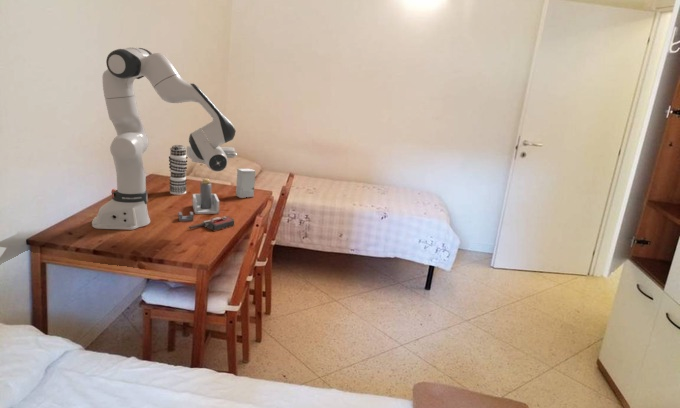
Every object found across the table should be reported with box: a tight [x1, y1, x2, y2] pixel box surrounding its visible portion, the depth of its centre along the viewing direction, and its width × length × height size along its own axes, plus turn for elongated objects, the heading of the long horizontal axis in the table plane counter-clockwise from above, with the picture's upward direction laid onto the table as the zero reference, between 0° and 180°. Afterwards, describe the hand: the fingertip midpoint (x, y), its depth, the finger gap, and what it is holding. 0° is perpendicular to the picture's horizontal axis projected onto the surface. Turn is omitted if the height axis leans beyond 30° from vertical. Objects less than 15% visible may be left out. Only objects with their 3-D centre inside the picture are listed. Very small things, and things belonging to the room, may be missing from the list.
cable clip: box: [178, 211, 194, 222], centre depth 213 cm, size 6×4×3 cm, turn 111°
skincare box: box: [235, 168, 256, 199], centre depth 255 cm, size 8×6×15 cm
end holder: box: [192, 193, 220, 215], centre depth 229 cm, size 11×13×6 cm
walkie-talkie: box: [188, 215, 235, 231], centre depth 207 cm, size 9×4×20 cm
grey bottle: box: [199, 178, 212, 209], centre depth 227 cm, size 5×5×14 cm
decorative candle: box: [168, 144, 189, 196], centre depth 248 cm, size 9×9×25 cm
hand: (209, 148), depth 211 cm, fingers open, 8 cm apart
